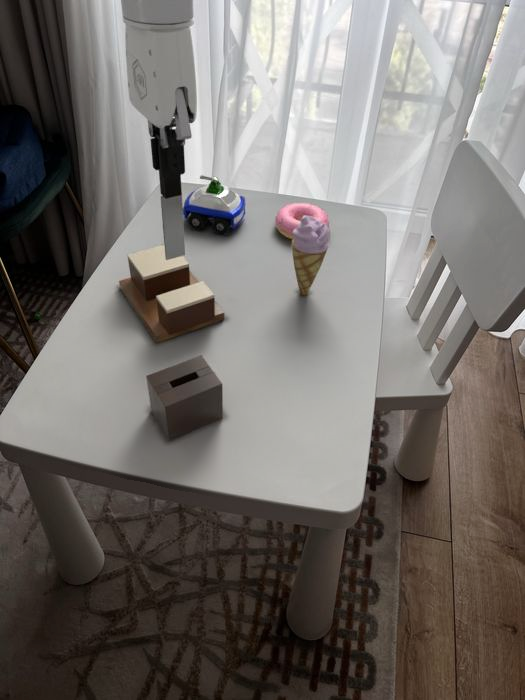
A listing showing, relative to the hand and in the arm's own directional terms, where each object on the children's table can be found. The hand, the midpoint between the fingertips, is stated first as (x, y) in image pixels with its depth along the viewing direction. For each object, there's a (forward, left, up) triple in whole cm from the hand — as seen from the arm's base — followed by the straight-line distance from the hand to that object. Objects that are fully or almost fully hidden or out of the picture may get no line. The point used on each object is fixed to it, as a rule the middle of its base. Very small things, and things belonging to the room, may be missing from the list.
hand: (169, 170), depth 69 cm
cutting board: (+1, +5, -26) cm, 27 cm away
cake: (+1, +9, -25) cm, 26 cm away
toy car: (+20, +25, -26) cm, 41 cm away
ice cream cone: (+23, -3, -26) cm, 35 cm away
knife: (0, 0, -13) cm, 13 cm away
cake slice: (0, -2, -25) cm, 25 cm away
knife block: (-7, -18, -26) cm, 33 cm away
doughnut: (+34, +14, -26) cm, 45 cm away
